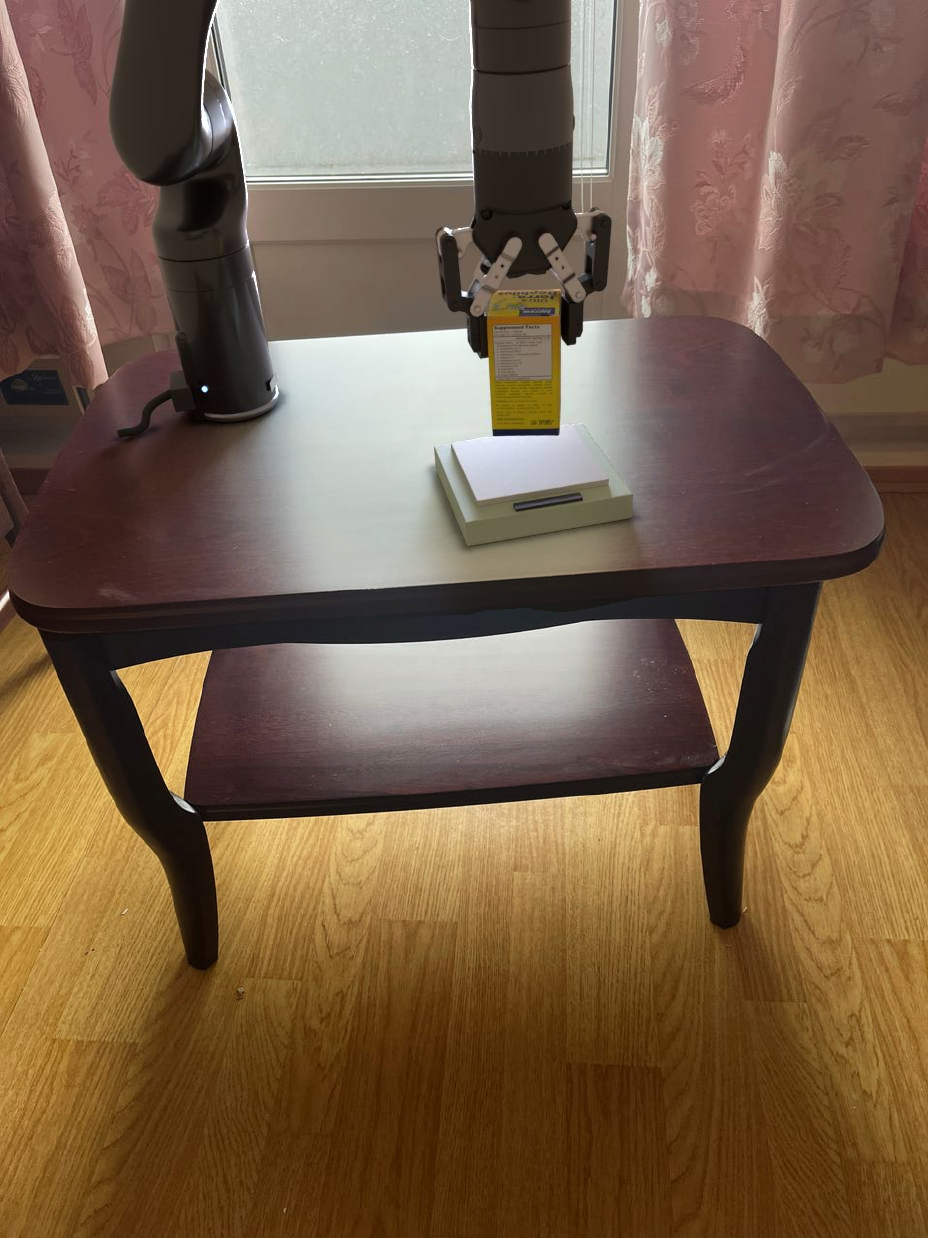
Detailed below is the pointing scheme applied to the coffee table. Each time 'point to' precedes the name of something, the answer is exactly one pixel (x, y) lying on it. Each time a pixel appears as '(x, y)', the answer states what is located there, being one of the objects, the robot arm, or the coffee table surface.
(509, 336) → the supplement box
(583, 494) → the scale
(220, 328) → the robot arm
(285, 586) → the coffee table surface
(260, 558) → the coffee table surface
